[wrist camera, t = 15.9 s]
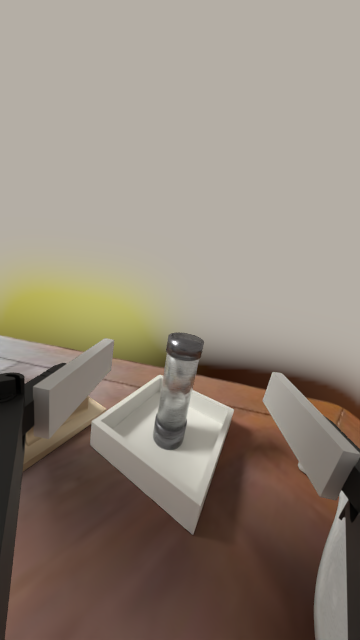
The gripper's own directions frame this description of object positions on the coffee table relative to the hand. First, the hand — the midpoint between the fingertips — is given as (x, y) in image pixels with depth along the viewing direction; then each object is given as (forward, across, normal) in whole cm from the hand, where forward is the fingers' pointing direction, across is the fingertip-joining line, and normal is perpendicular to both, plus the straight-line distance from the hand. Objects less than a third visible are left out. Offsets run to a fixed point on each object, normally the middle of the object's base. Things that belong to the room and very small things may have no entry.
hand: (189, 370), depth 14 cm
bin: (+10, 0, -17) cm, 20 cm away
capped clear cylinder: (+9, 0, -16) cm, 19 cm away
